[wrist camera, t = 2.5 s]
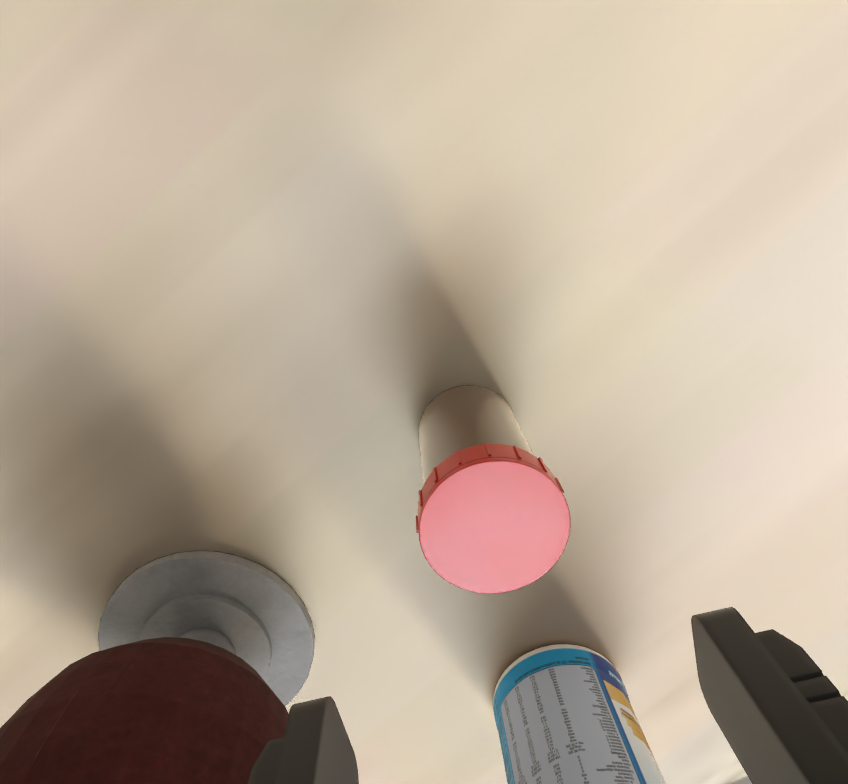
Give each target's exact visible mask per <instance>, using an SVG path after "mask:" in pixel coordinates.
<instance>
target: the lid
mask: <svg viewBox="0 0 848 784" xmlns="http://www.w3.org/2000/svg"><path fill="white" fill-rule="evenodd" d="M563 493H564V491H563V489H562V487H561V485H560V483H559V481H558V479H557V478H554V476H553V475H552V473H551V472H550V470H549V469H548V468H547V467H546V465H545V464H544V463H543V461H542V459H541V458H540V457H539V458H537V457H535V456H534V455H532V454H531V453H529V452H527V451H525V450H523V449H520V448H517V446H516V445H514V446H510V445H504V444H488V443H487V442H486V443H485V444H481V445H476V446H471V447H468V448H466V449H463V450H460V451H459V450H457V451H456V453H454V454H453V455H451V456H449V457H448V458H446V459H445V460H444V461H443V462H441V463H440V464H439V465H438V466H437V467H436V468H435V467H434V468H433V471H432V472H431V474H430V475H429V477H428V478H427V480H426V482H425V483H424V485H423V487H422V490H419V501H418V516H416V530H417V533H419V540H420V544H421V548H422V551H423V553H424V556H425V558H426V559H427V561H428V563H429V564H430V566H431V567H432V568H433V569H434V571H435V572H436V573H438V574H439V575H440V576H441V577H442V578H443V579H445V580H446V581H448V582H449V583H451V584H453V585H455V586H457V587H459V588H462V589H464V590H468V591H472V592H477V593H503V592H508V591H513V590H516V589H519V588H522V587H524V586H526V585H528V584H531V583H532V582H534V581H536V580H537V579H539V578H540V577H541V576H543V575H544V574H545V573H547V572H548V571H549V570H550V569H551V568H552V567H553V565H554V564H555V563H556V562H557V561H558V559H559V558H560V556H561V554H562V553H563V551H564V548H565V546H566V544H567V541H568V537H569V532H570V513H569V508H568V505H567V502H566V499H565V497H564V495H563Z"/></svg>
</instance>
